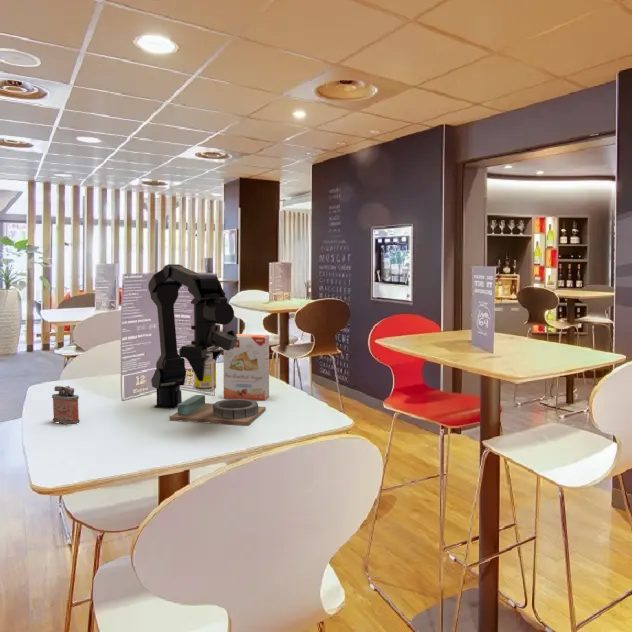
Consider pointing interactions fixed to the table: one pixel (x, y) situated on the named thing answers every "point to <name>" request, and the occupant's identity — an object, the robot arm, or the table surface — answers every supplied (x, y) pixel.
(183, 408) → the ring
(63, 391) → the lighter
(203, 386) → the supplement bottle
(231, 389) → the cracker box
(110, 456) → the table surface
